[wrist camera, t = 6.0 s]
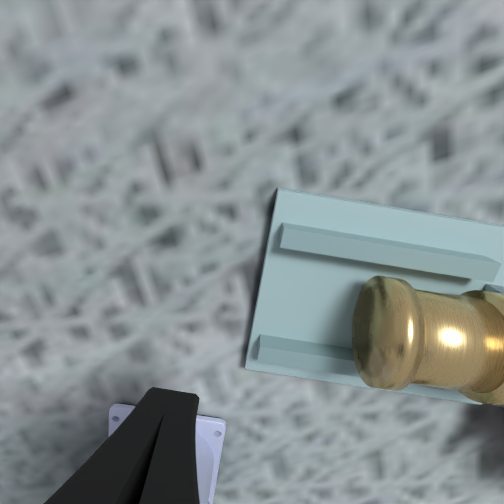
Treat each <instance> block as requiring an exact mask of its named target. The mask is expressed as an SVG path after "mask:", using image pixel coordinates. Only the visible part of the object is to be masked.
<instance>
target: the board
mask: <svg viewBox="0 0 504 504" xmlns="http://www.w3.org/2000/svg"><path fill="white" fill-rule="evenodd" d="M374 276H385V277H392V278H399V279H403V280H405V281H407V282H408V283H409V284H410V285H411V286H412V287H413V289H417V290H424V291H431V292H438V293H445V294H452V295H458V296H459V295H461V294H462V293H464V292H467V291H472V290H481V291H483V289H484V287H485V285H486V284H492V285H498V286H504V225H498V224H493V223H487V222H481V221H475V220H469V219H463V218H457V217H451V216H445V215H439V214H433V213H427V212H421V211H415V210H409V209H403V208H397V207H391V206H386V205H380V204H374V203H368V202H362V201H356V200H350V199H344V198H338V197H332V196H326V195H320V194H314V193H308V192H302V191H296V190H290V189H284V188H279V187H278V188H277V193H276V199H275V204H274V209H273V215H272V220H271V225H270V231H269V236H268V241H267V247H266V252H265V258H264V263H263V268H262V274H261V279H260V284H259V290H258V295H257V301H256V306H255V311H254V317H253V322H252V327H251V333H250V338H249V343H248V349H247V354H246V361H245V369H249V370H255V371H262V372H268V373H275V374H281V375H288V376H295V377H301V378H308V379H314V380H321V381H327V382H334V383H341V384H347V385H354V386H360V387H367V388H371V387H369V386H367V385H366V384H365V383H364V382H363V381H362V379H361V377H360V375H359V373H358V371H357V368H356V365H355V361H354V356H353V349H352V323H353V316H354V310H355V306H356V302H357V299H358V297H359V294H360V292H361V290H362V288H363V286H364V285H365V283H366V282H367V281H368V280H369V279H370V278H372V277H374ZM373 389H378V388H373ZM380 390H385V389H380ZM386 391H392V390H386ZM393 392H400V393H406V394H413V395H419V396H426V397H432V398H439V399H446V400H452V401H459V402H465V403H472V404H478V405H482V403H479V402H476V401H473V400H471V399H468V398H467V397H465V396H464V395H463V394H461V393H460V392H459V391H458V390H453V389H446V388H439V387H431V386H424V385H417V384H409V385H408V386H407V387H406V388H404V389H402V390H399V391H393Z"/></svg>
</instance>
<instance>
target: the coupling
mask: <svg viewBox="0 0 504 504" xmlns="http://www.w3.org/2000/svg"><path fill="white" fill-rule="evenodd" d="M352 349H353V356H354V361H355V365H356V368H357V371H358V373H359V375H360V377H361V379H362V381H363V382H364V383H365V384H366V385H367V386H369V387H371V388H378V389H385V390H392V391H399V390H402V389H404V388H406V387H407V386H408V385H409V384H417V385H424V386H431V387H439V388H446V389H453V390H458V391H459V392H460V393H461V394H463V395H464V396H465V397H467V398H468V399H471V400H473V401H476V402H479V403H486V404H493V405H501V406H504V294H501V293H494V292H488V291H481V290H472V291H467V292H464V293H462V294H461V295H459V296H458V295H452V294H445V293H438V292H431V291H424V290H417V289H413V287H412V286H411V285H410V284H409V283H408V282H407V281H405V280H403V279H399V278H392V277H385V276H374V277H372V278H370V279H369V280H368V281H367V282H366V283H365V285H364V286H363V288H362V290H361V292H360V294H359V297H358V299H357V302H356V306H355V310H354V316H353V323H352Z"/></svg>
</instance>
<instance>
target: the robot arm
mask: <svg viewBox="0 0 504 504" xmlns="http://www.w3.org/2000/svg"><path fill="white" fill-rule="evenodd" d="M198 404H199V397H198V396H197V395H196V394H192V393H186V392H180V391H173V390H167V389H161V388H155V387H153V388H151V389H149V390H148V391H147V393H146V394H145V395H144V397H143V398H142V399H141V401H140V402H139V403H138V404H137V406H132V405H125V404H113V405H112V406H111V408H110V409H109V434H108V439H107V440H106V441H105V442H104V443H103V444H102V445H101V447H100V448H99V449H98V450H97V451H96V452H95V453H94V454H93V455H92V456H91V457H90V458H89V459H88V460H87V461H86V462H85V463H84V464H83V465H82V466H81V467H80V468H79V469H78V470H77V471H76V472H75V473H74V474H73V475H72V476H71V477H70V478H69V479H68V480H67V481H66V482H65V483H64V484H63V485H62V486H61V487H60V488H59V489H58V490H57V491H56V492H55V493H54V494H53V495H52V496H51V497H50V498H49V499H48V500H47V501H46V502H45V503H44V504H213V498H214V493H215V487H216V481H217V476H218V470H219V464H220V459H221V453H222V447H223V442H224V436H225V430H226V422H225V421H224V420H223V419H220V418H213V417H206V416H200V415H197V410H198ZM116 416H117V417H116ZM217 431H220V432H217Z"/></svg>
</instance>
